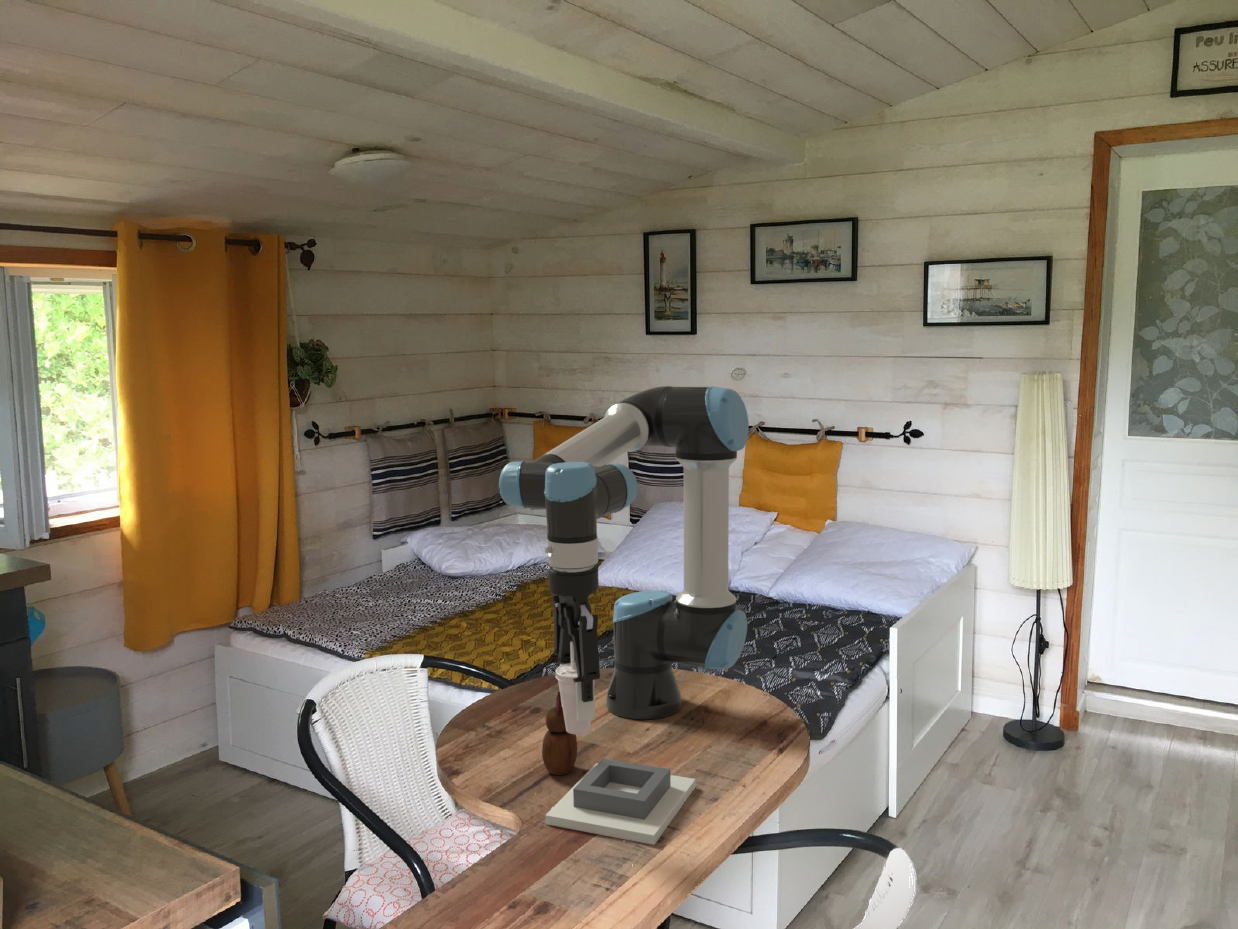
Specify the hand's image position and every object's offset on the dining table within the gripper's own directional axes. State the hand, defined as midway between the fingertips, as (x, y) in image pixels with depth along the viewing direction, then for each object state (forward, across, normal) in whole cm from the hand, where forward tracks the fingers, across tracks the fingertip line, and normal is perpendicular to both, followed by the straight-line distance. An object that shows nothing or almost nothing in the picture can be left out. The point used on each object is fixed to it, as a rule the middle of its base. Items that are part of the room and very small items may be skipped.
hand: (577, 711), depth 157 cm
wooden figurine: (+19, -18, +3) cm, 26 cm away
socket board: (+18, -2, +8) cm, 20 cm away
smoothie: (+3, 0, 0) cm, 3 cm away
